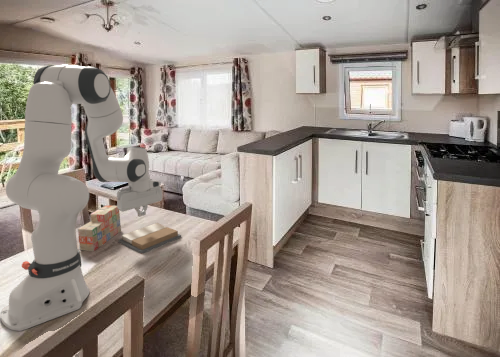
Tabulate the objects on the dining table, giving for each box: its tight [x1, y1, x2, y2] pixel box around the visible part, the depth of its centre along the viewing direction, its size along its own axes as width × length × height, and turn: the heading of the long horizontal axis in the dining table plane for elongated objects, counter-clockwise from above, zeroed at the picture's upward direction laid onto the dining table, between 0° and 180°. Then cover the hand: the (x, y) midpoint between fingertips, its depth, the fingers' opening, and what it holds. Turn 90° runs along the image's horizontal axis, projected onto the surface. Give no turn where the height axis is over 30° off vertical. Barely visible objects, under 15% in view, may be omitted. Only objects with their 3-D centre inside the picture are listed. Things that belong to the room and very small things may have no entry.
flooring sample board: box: [117, 226, 182, 254], centre depth 141 cm, size 20×17×3 cm
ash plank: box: [121, 222, 167, 244], centre depth 143 cm, size 18×7×2 cm, turn 142°
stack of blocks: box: [77, 204, 122, 252], centre depth 140 cm, size 21×6×12 cm, turn 173°
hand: (141, 215), depth 141 cm, fingers closed
